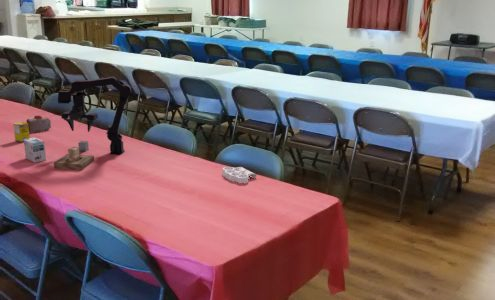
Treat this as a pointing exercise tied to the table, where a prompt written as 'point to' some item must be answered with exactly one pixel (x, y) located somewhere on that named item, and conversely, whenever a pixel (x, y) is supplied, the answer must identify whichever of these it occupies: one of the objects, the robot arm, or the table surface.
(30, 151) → the light bulb box
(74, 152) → the maple pin
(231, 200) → the table surface
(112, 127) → the robot arm
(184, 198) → the table surface
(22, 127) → the supplement box
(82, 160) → the walnut sleeve block
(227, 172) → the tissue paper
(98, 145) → the table surface
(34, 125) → the grey box with knob
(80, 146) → the metal stub
